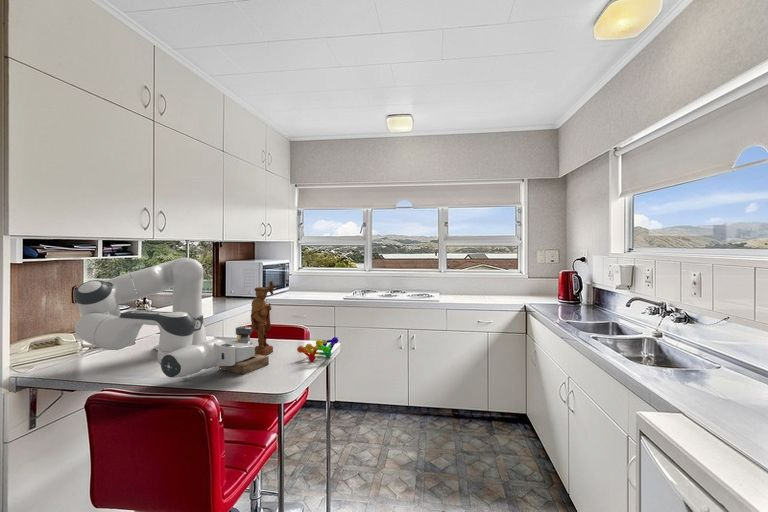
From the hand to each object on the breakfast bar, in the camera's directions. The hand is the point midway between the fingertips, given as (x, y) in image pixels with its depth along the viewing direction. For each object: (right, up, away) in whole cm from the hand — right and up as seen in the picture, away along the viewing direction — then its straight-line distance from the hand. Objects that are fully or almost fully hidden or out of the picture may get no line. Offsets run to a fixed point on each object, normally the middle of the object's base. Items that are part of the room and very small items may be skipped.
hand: (246, 343), depth 142 cm
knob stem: (0, -7, 0) cm, 7 cm away
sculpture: (+1, -8, +16) cm, 18 cm away
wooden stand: (0, -9, 0) cm, 9 cm away
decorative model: (+25, -8, +10) cm, 28 cm away
